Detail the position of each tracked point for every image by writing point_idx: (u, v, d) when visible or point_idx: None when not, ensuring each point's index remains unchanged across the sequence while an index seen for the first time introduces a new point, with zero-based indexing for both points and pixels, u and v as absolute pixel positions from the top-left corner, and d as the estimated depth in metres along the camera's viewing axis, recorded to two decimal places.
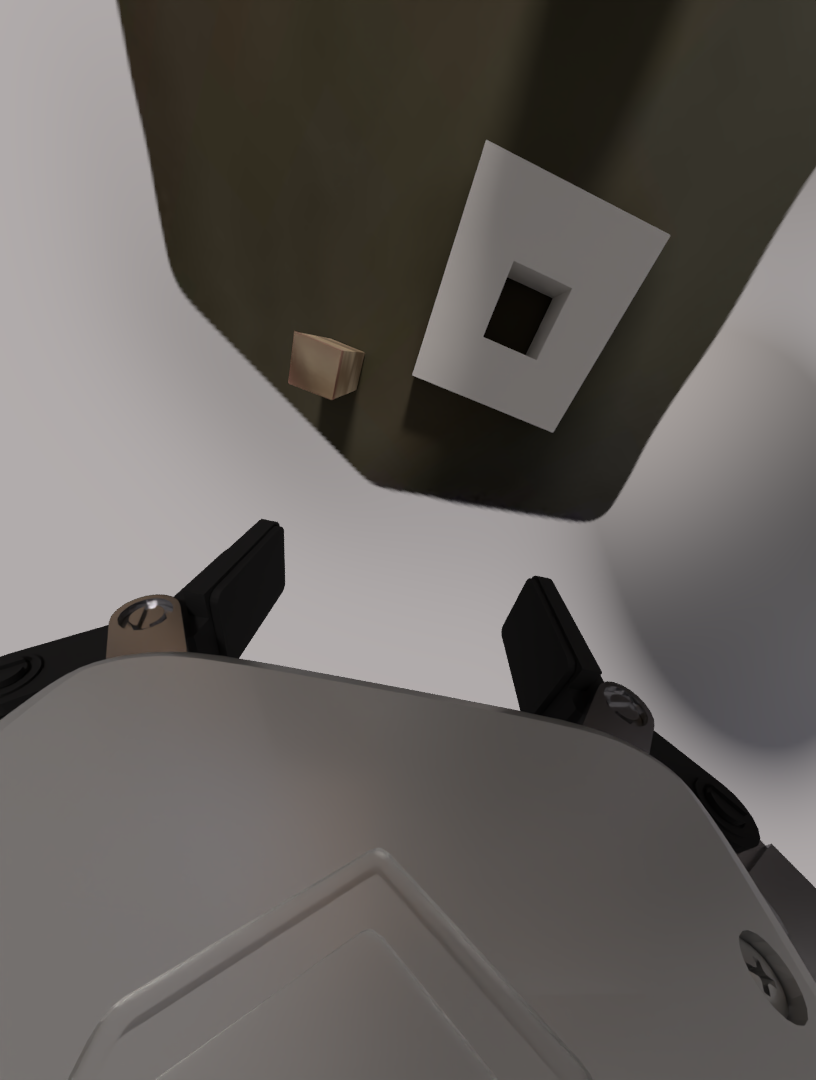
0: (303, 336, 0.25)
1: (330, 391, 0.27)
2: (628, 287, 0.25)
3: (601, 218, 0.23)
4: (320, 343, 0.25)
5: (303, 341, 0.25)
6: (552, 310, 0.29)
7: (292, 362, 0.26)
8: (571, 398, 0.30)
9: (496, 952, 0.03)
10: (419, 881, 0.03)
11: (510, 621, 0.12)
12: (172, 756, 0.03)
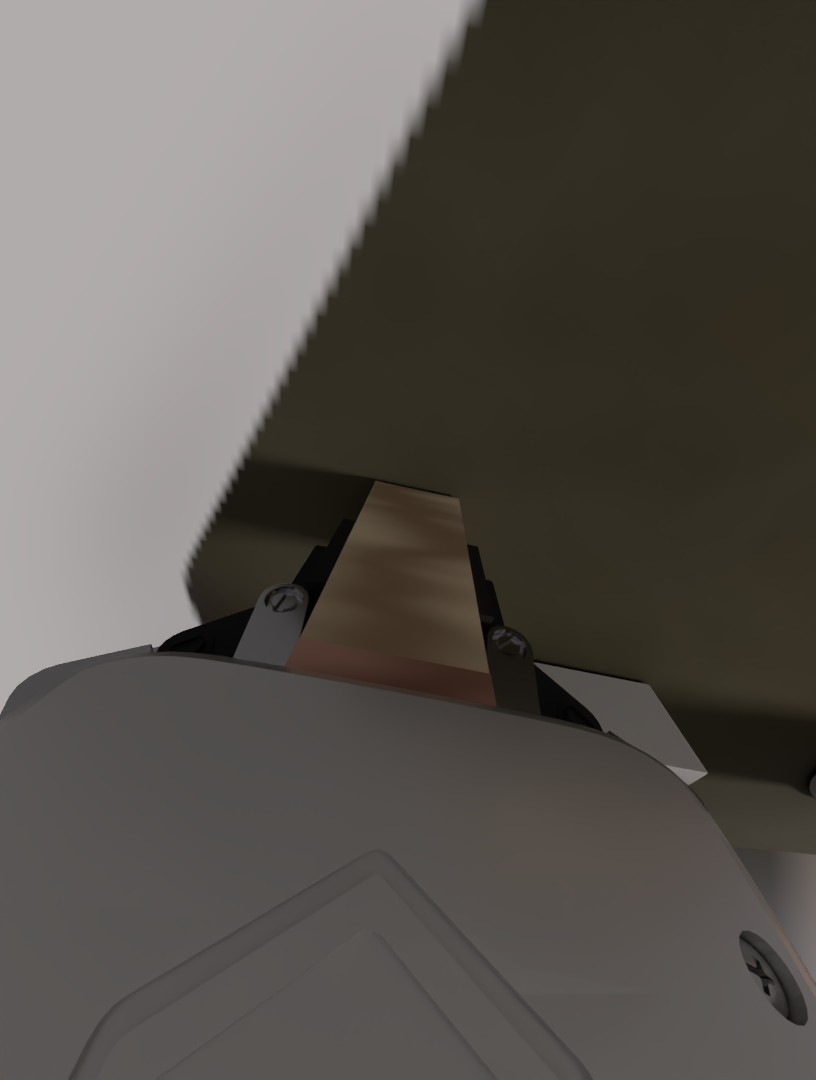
0: None
1: None
2: None
3: None
4: None
5: None
6: None
7: None
8: None
9: (496, 952, 0.03)
10: (419, 881, 0.03)
11: None
12: (172, 756, 0.03)
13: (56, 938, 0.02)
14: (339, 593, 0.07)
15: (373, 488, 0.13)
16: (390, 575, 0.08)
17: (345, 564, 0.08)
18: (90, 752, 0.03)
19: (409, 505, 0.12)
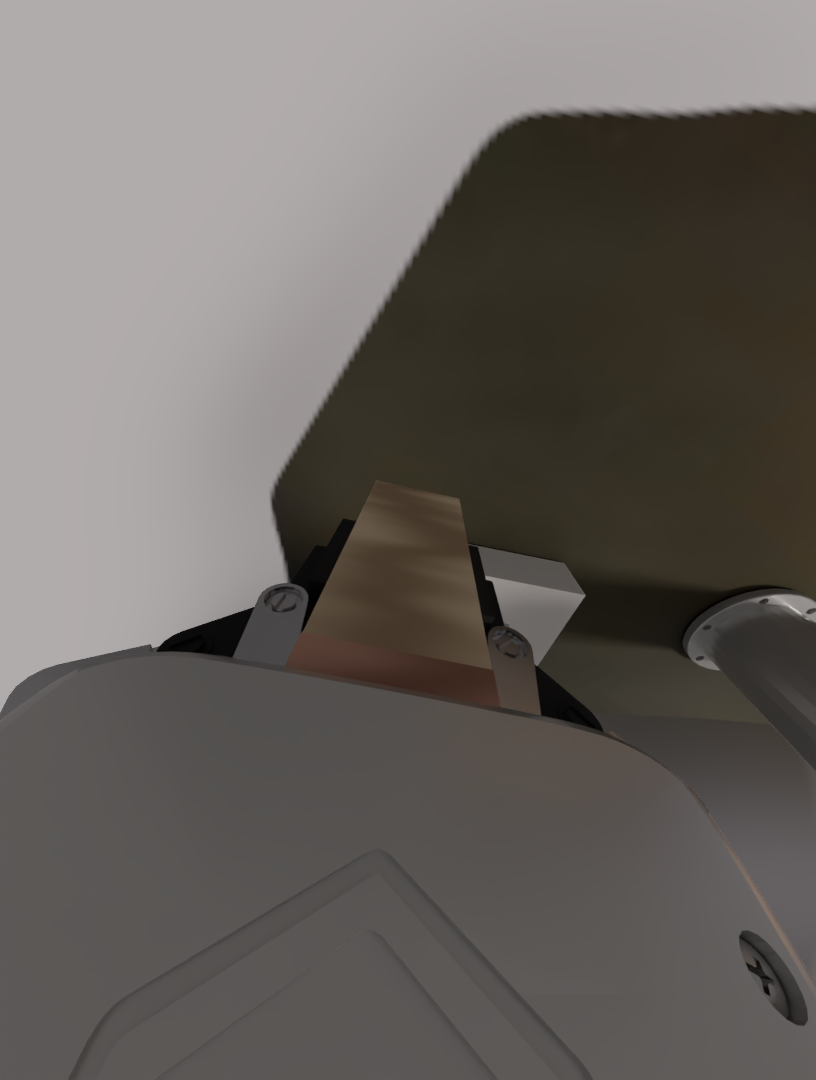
0: None
1: None
2: None
3: None
4: None
5: None
6: None
7: None
8: None
9: (496, 952, 0.03)
10: (419, 881, 0.03)
11: None
12: (172, 756, 0.03)
13: (56, 938, 0.02)
14: (341, 589, 0.07)
15: (374, 487, 0.13)
16: (392, 573, 0.08)
17: (347, 561, 0.08)
18: (90, 752, 0.03)
19: (410, 504, 0.12)
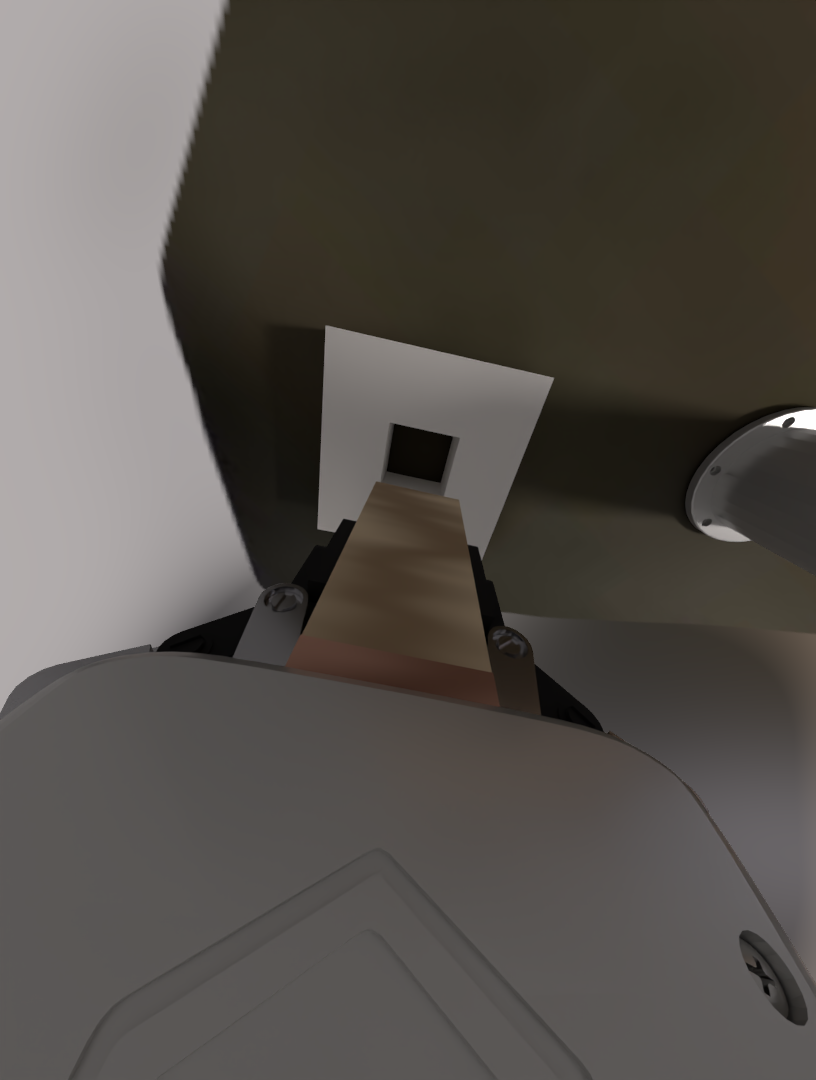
0: None
1: None
2: None
3: (491, 508, 0.26)
4: None
5: None
6: (428, 487, 0.28)
7: None
8: None
9: (496, 952, 0.03)
10: (419, 881, 0.03)
11: None
12: (172, 756, 0.03)
13: (55, 938, 0.02)
14: (341, 591, 0.07)
15: (374, 488, 0.13)
16: (391, 574, 0.08)
17: (346, 563, 0.08)
18: (89, 752, 0.03)
19: (410, 505, 0.12)
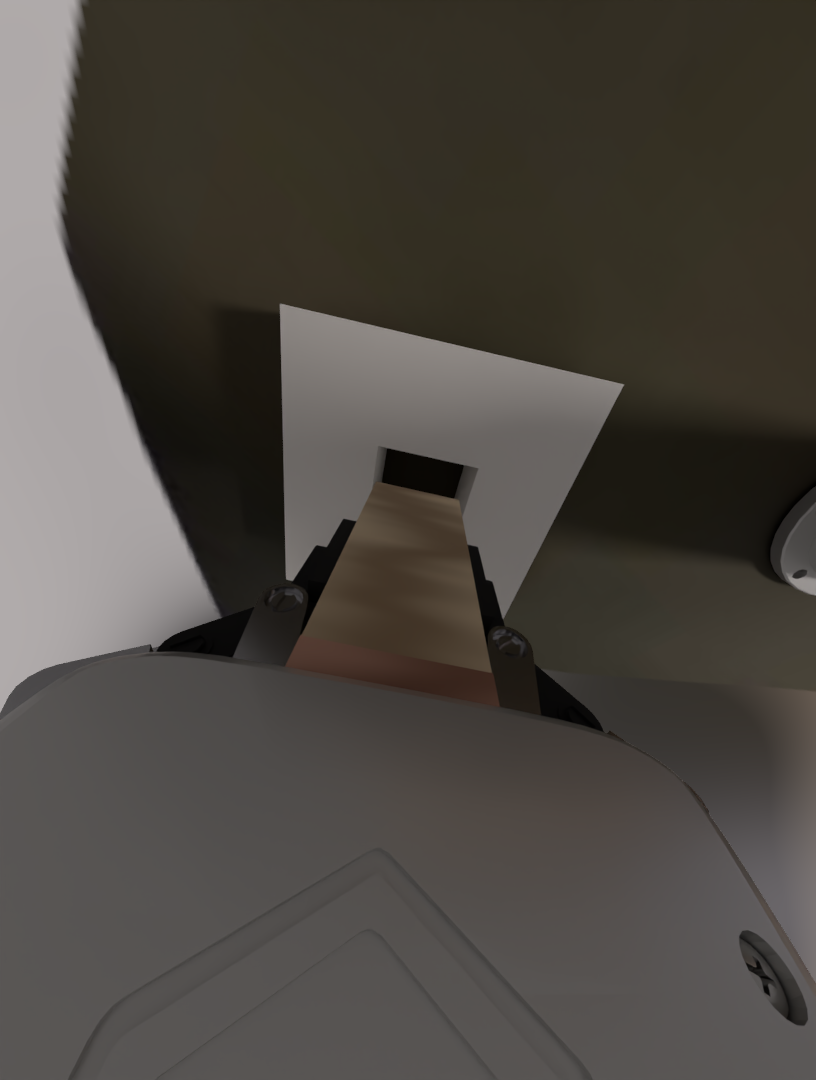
0: None
1: None
2: None
3: (518, 560, 0.19)
4: None
5: None
6: None
7: None
8: None
9: (496, 952, 0.03)
10: (419, 881, 0.03)
11: None
12: (172, 756, 0.03)
13: (56, 938, 0.02)
14: (340, 592, 0.07)
15: (374, 488, 0.13)
16: (391, 575, 0.08)
17: (346, 563, 0.08)
18: (90, 752, 0.03)
19: (410, 506, 0.12)
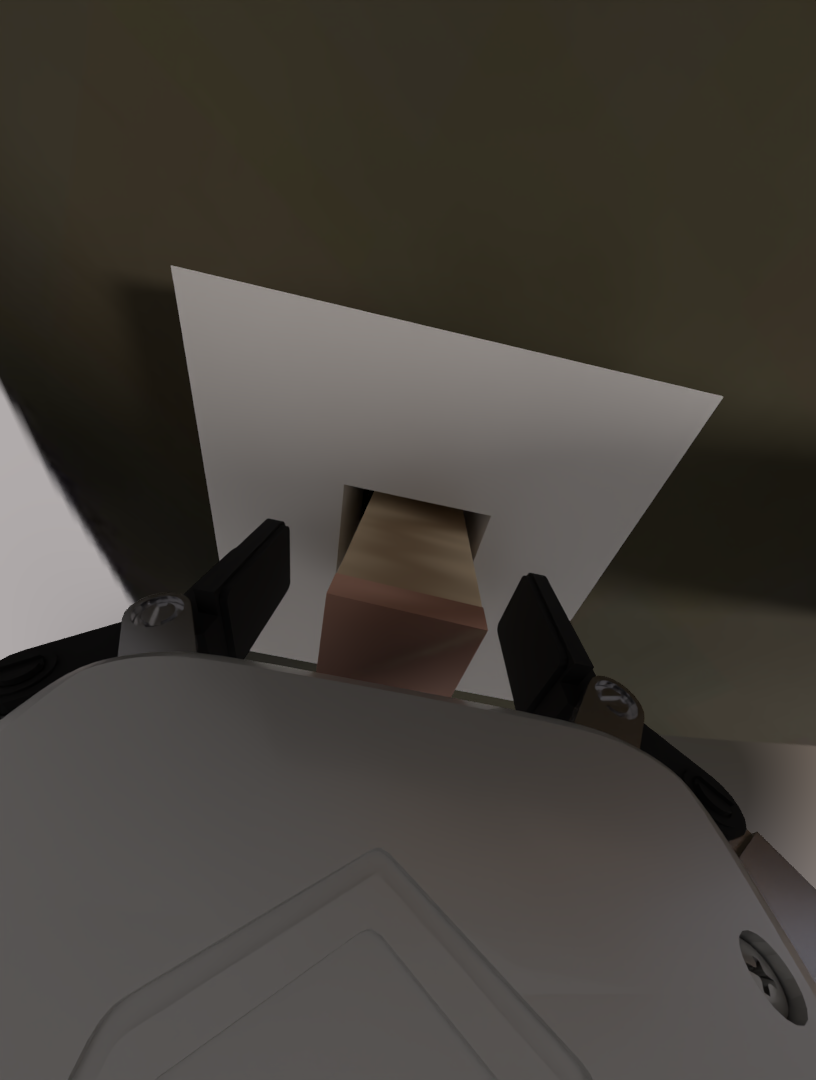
0: (473, 649, 0.08)
1: None
2: None
3: None
4: (455, 682, 0.08)
5: (460, 648, 0.08)
6: None
7: (396, 613, 0.07)
8: (296, 657, 0.16)
9: (496, 952, 0.03)
10: (419, 881, 0.03)
11: (505, 618, 0.12)
12: (172, 756, 0.03)
13: (56, 938, 0.02)
14: (363, 547, 0.09)
15: None
16: (402, 538, 0.10)
17: (365, 527, 0.10)
18: (90, 752, 0.03)
19: None
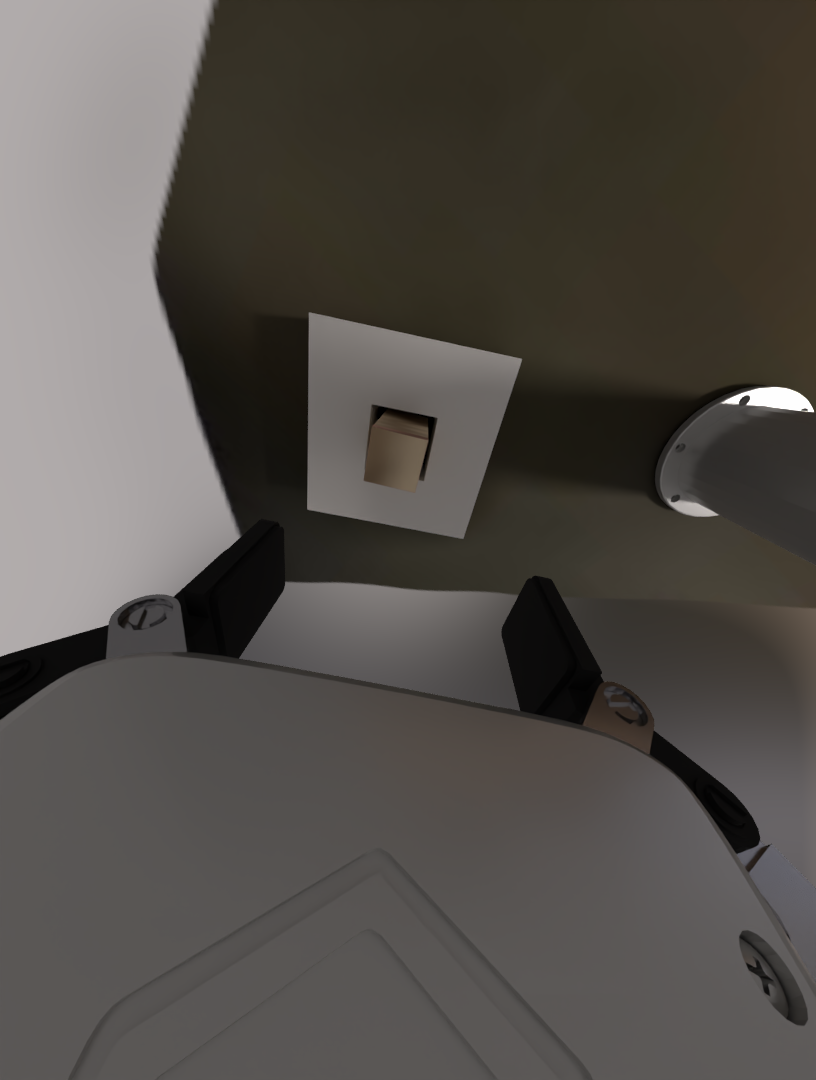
0: (424, 450, 0.21)
1: (372, 479, 0.23)
2: (429, 525, 0.30)
3: (470, 485, 0.28)
4: (419, 470, 0.22)
5: (419, 450, 0.21)
6: None
7: (395, 434, 0.21)
8: (341, 514, 0.30)
9: (496, 952, 0.03)
10: (419, 881, 0.03)
11: (510, 621, 0.12)
12: (172, 756, 0.03)
13: (56, 938, 0.02)
14: (382, 422, 0.23)
15: (387, 409, 0.28)
16: (398, 423, 0.24)
17: (382, 419, 0.24)
18: (90, 752, 0.03)
19: (404, 415, 0.28)
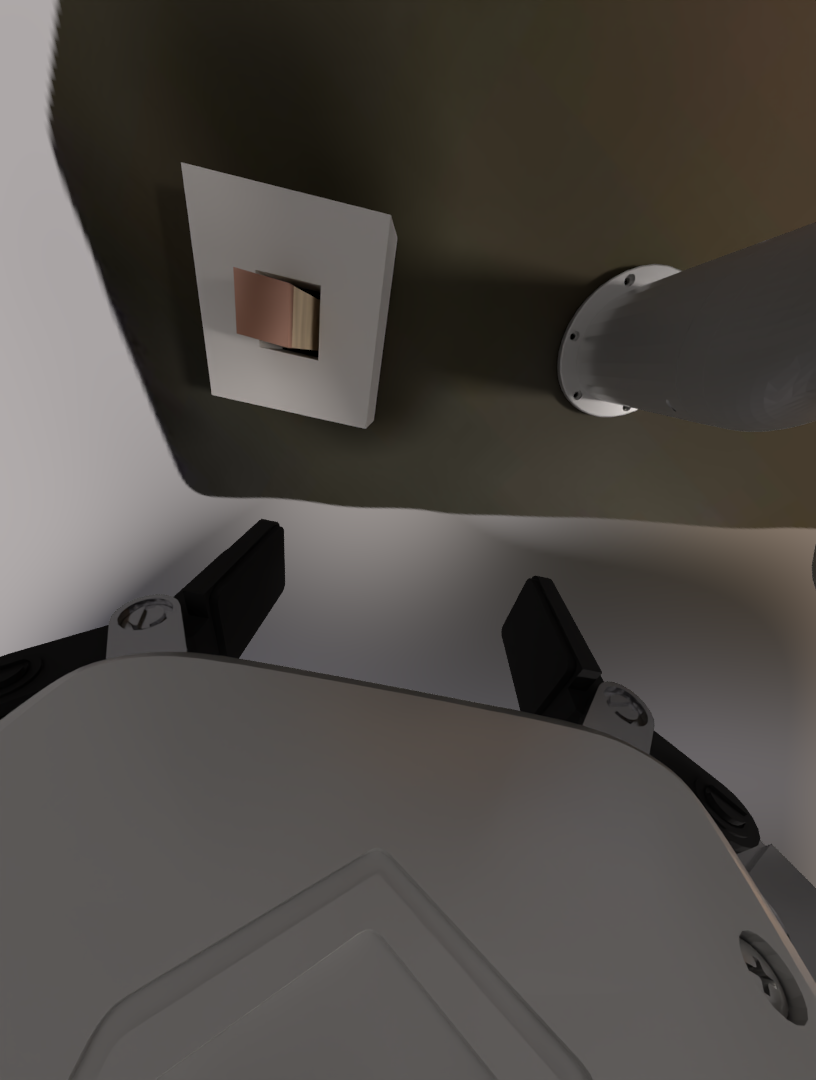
0: (287, 296, 0.22)
1: (245, 331, 0.23)
2: (331, 413, 0.31)
3: (363, 365, 0.28)
4: (287, 320, 0.23)
5: (283, 295, 0.22)
6: (315, 357, 0.31)
7: (257, 276, 0.21)
8: (245, 400, 0.31)
9: (496, 952, 0.03)
10: (419, 881, 0.03)
11: (509, 621, 0.12)
12: (172, 756, 0.03)
13: (56, 938, 0.02)
14: None
15: None
16: None
17: None
18: (90, 752, 0.03)
19: None
